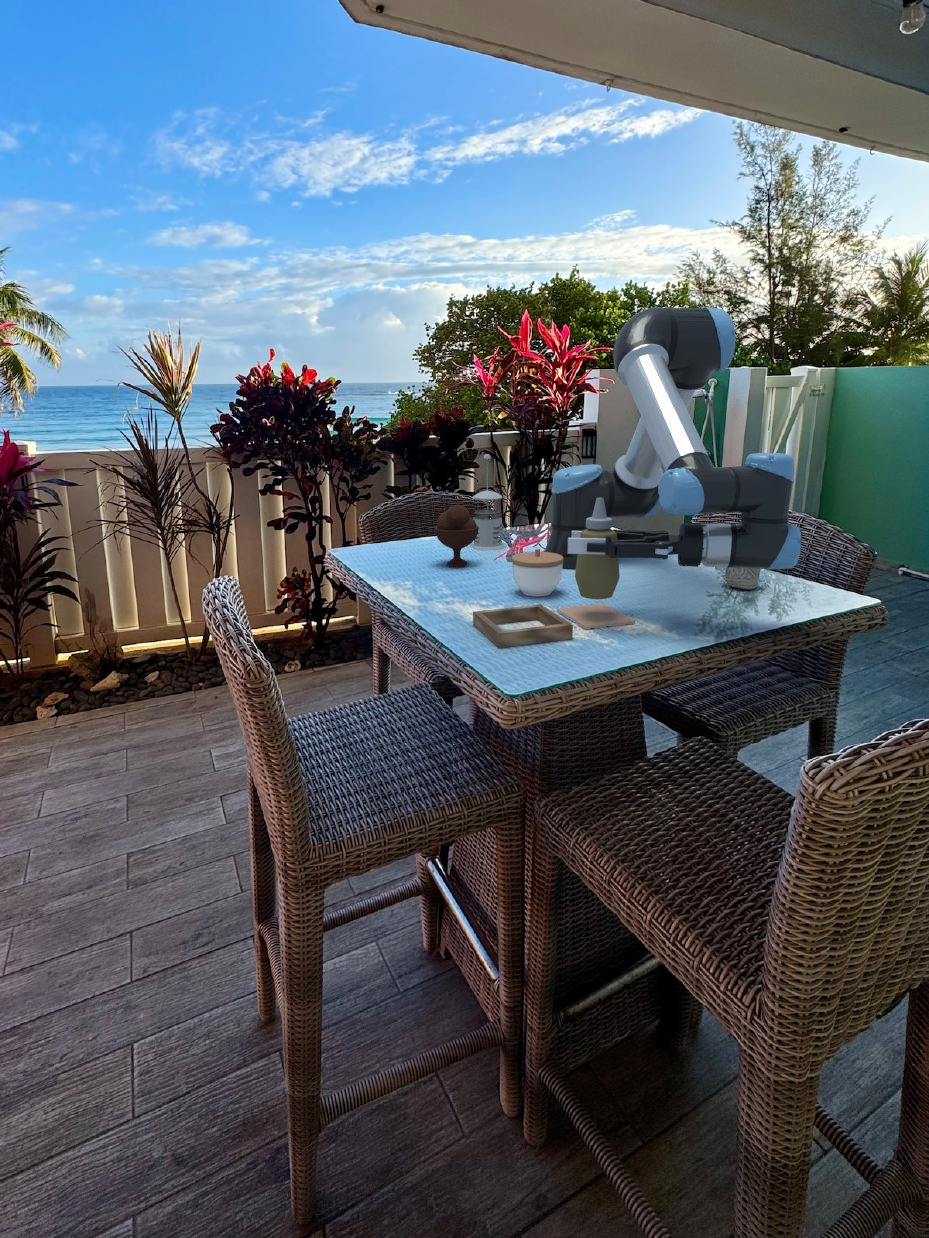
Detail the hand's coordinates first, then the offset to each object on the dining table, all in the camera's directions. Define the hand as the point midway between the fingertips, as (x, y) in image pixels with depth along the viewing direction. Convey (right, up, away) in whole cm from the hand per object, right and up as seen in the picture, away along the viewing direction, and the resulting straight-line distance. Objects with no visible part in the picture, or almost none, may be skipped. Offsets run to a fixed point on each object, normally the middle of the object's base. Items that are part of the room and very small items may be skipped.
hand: (570, 541), depth 130 cm
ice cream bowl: (-21, -1, +47) cm, 51 cm away
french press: (-13, +6, +68) cm, 70 cm away
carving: (+40, -8, +22) cm, 46 cm away
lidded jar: (-4, -9, +21) cm, 23 cm away
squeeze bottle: (+5, -10, +2) cm, 11 cm away
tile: (+5, -14, +3) cm, 15 cm away
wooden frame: (-9, -16, -4) cm, 19 cm away
